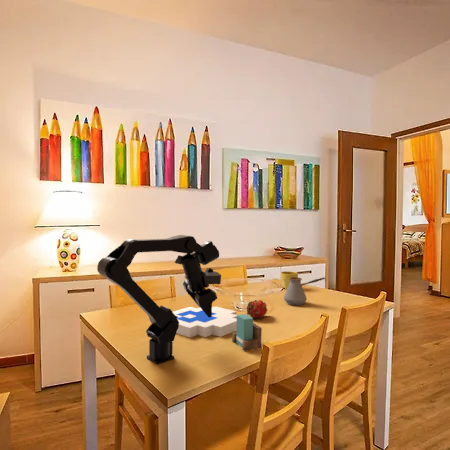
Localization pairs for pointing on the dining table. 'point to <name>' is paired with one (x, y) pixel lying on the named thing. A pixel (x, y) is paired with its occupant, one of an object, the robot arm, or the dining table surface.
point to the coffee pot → (297, 291)
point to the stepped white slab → (205, 322)
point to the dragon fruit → (256, 309)
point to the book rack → (255, 341)
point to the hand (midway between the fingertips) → (205, 311)
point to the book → (244, 329)
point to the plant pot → (287, 277)
